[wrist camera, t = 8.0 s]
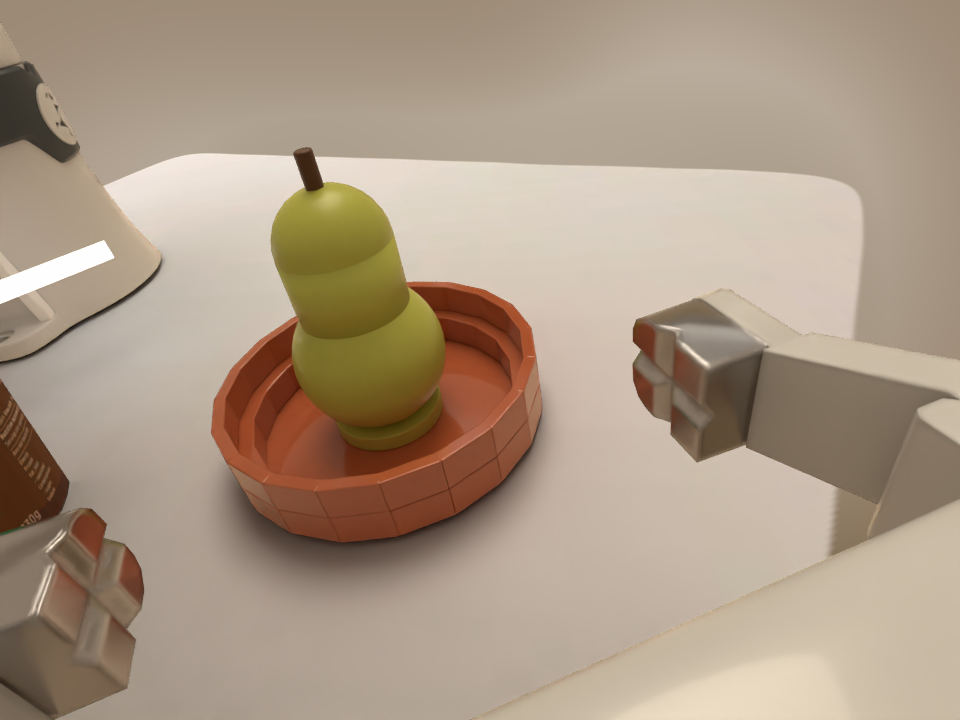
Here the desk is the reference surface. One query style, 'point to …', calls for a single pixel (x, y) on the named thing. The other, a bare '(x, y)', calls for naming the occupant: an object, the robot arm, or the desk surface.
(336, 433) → the dish
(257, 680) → the desk surface
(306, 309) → the pear
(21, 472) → the food container
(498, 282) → the desk surface
